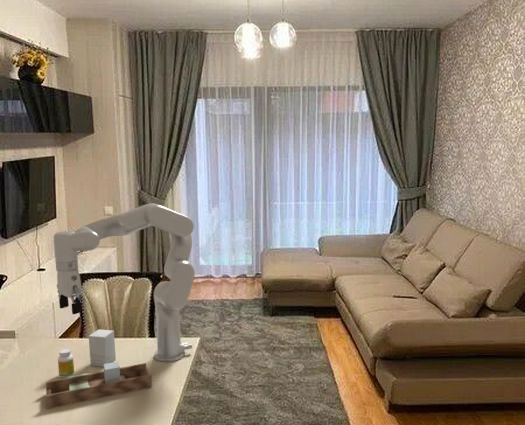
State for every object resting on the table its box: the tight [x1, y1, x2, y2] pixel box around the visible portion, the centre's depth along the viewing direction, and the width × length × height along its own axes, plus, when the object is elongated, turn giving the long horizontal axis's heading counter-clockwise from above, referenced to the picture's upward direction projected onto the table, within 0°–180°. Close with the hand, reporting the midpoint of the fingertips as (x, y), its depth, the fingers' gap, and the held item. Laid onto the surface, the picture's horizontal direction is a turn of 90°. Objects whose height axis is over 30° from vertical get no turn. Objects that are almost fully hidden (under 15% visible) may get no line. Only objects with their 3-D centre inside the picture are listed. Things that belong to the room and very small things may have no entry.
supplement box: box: [88, 329, 117, 368], centre depth 194 cm, size 7×7×13 cm
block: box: [103, 361, 121, 383], centre depth 174 cm, size 5×5×6 cm
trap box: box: [45, 362, 153, 410], centre depth 172 cm, size 35×11×5 cm, turn 114°
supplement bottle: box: [57, 348, 75, 379], centre depth 184 cm, size 5×5×10 cm
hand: (70, 310), depth 177 cm, fingers open, 9 cm apart
